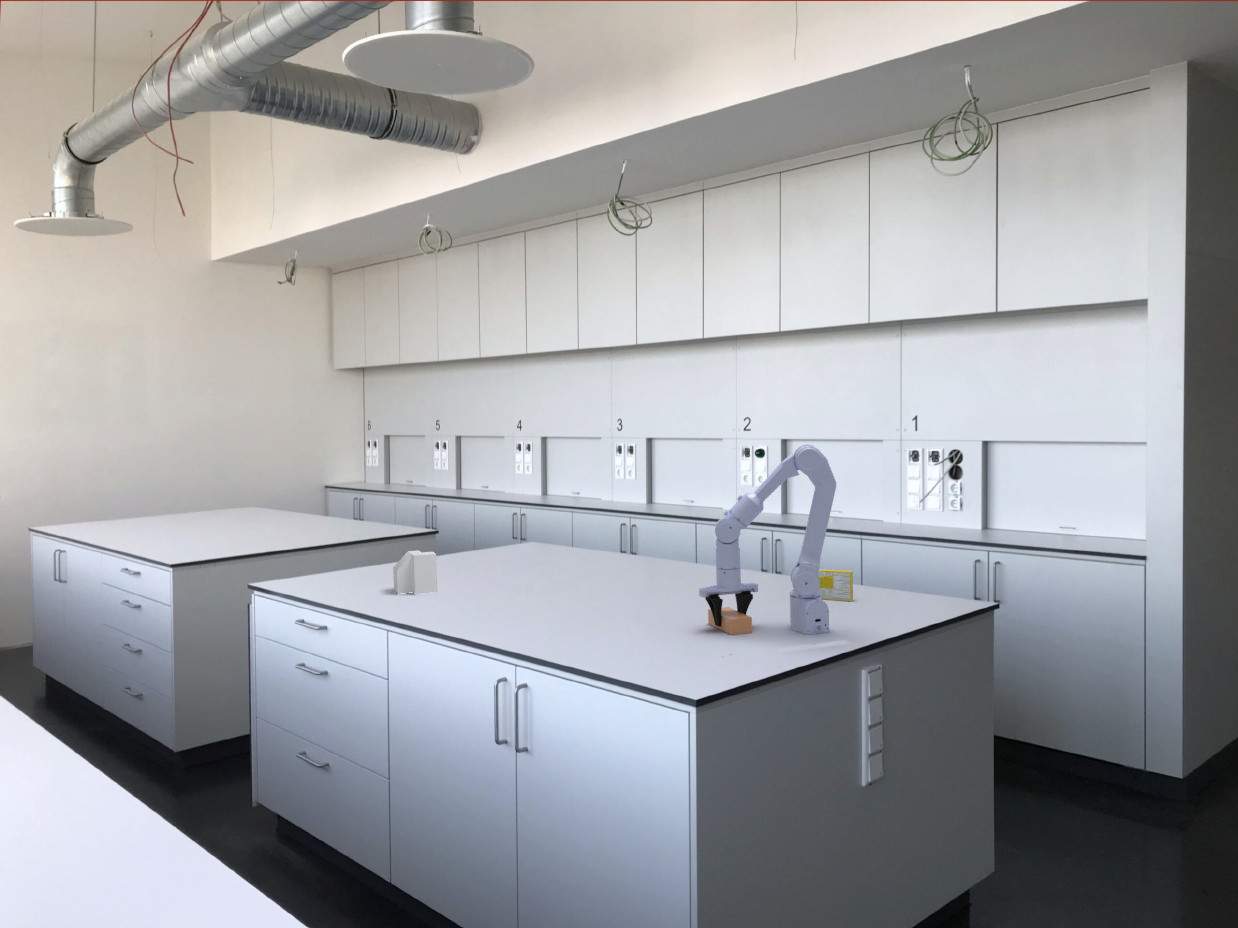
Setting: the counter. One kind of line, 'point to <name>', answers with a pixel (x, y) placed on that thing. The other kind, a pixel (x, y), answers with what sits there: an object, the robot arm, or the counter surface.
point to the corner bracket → (416, 573)
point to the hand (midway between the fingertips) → (729, 624)
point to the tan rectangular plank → (732, 621)
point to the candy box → (836, 585)
